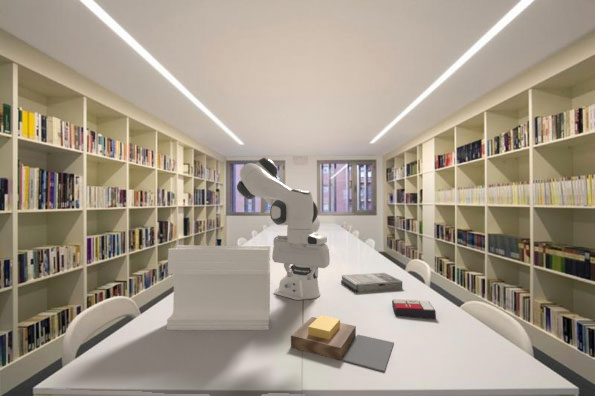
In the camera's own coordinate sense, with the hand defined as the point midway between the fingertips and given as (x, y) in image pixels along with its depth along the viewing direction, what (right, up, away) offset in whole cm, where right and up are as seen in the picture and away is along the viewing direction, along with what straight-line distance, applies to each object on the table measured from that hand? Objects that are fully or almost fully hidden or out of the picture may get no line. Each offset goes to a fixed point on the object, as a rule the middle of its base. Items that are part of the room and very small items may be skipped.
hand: (299, 278), depth 95 cm
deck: (+8, -19, -4) cm, 21 cm away
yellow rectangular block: (+8, -16, -4) cm, 18 cm away
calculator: (+47, -21, +21) cm, 55 cm away
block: (-29, -19, +7) cm, 35 cm away
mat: (+21, -19, -10) cm, 30 cm away
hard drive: (+39, -21, +58) cm, 73 cm away
